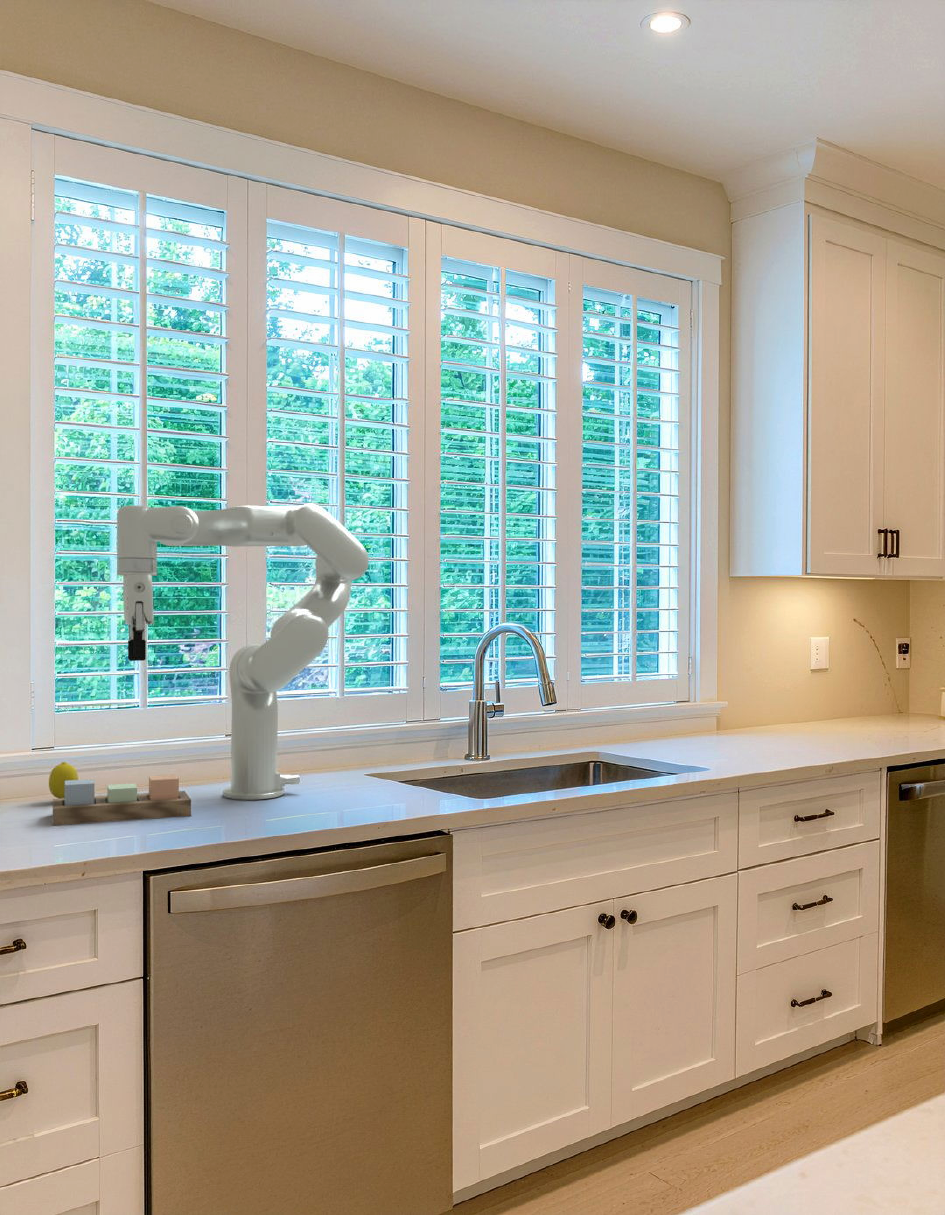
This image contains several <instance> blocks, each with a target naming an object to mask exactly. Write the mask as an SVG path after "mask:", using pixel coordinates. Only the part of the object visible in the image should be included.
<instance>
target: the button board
mask: <svg viewBox="0 0 945 1215" xmlns="http://www.w3.org/2000/svg"><path fill="white" fill-rule="evenodd" d="M177 817H178V818H179V817H192V799H191V798H190V796H189V794H188V793H187V792H186V791H185V790H179V799H164V800H149V792H144V793H137V801H132V802H116V803H107V795H94V804H85V805H69V806H65V798H57V797H56V798H52V826H62V825H64V826H65V825H75V824H76V825H77V824H78V825H79V824H94V823H107V822H120V821H134V820H135V821H137V820H147V819H148V820H150V819H151V820H152V819H164V818H177Z"/></svg>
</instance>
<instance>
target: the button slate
mask: <svg viewBox="0 0 945 1215" xmlns="http://www.w3.org/2000/svg"><path fill="white" fill-rule="evenodd" d="M94 796H95V780H94V778H92V779H91V778H89V779H78V780H67V781H65V806H69V805H85V804H94Z"/></svg>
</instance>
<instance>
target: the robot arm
mask: <svg viewBox="0 0 945 1215" xmlns="http://www.w3.org/2000/svg"><path fill="white" fill-rule="evenodd" d="M158 542H159V543H160V544H162V545H165V546H169V547H210V546H211V547H213V546H214V547H215V546H217V547H218V546H219V547H220V546H221V547H222V546H223V547H233V548H234V547H235V548H237V547H303V546H304V547H305V546H308V547H309V548H310V550H312V552H314V553H315V555H316V557H315V563H314V565H315V581H314V585H313V586H312V587H311V589H310V590H309V591H308V592H307V593H306V594H305V595H304V596H303V597H302V598H301V599H300V600H299V601H298V602H297V603H296V604H294V605H293V606H292V607H291V608H289V610H288V611H286V612H285V613H284V614H283V615H281V616H280V617H278V618H277V620H276V621H275V622H274V623H273V625H272V627H271V630H270V637H269V639H267V640H266V641H265V642H264V643H263V644H248V645H245V646H243V647H241V648H239V649H238V650H237V651H236V652H235V653H234V655H233V656H232V658H231V660H230V665H229V670H228V672H229V673H228V674H229V675H228V676H229V686H230V687H229V688H230V696H231V698H230V700H231V725H230V726H231V729H230V730H231V732H230V734H231V736H230V737H231V739H230V740H231V743H230V750H231V751H230V786H229V787H226V788H223V790H222V795H223V797H225V798H228V799H232V800H246V801H247V800H248V801H249V800H250V801H251V800H252V801H253V800H265V799H267V800H268V799H274V798H278V797H281V796H283V795H285V788H284V787H285V785H300V783H301V782H300V781H301V780H300V778H301V777H300V775H299V774H293V775H292V774H281V773H280V772H279V771H278V727H279V726H278V722H279V717H278V716H279V708H278V707H279V705H278V704H279V703H278V694H277V692H278V691H279V690H281V689H282V688H284V687H285V686H287V684H289V683H290V682H291V681H292V680H293V679H294V678H296V677H297V676H298V675H299V674H300V673H301V672H303V670H305V669H306V668H307V666H309V665H310V664H311V663H313V661H314V660H315V659H317V657H318V656H320V654H321V653H322V652H323V650H324V649H325V648H326V646H327V643H328V641H329V628H330V627H331V626H332V625H333V624H334V622H336V621H337V620H338V619H339V617H340V616H341V615H343V613H344V612H345V610H346V608H347V607H348V604H349V602H350V597H351V593H352V592H351V591H352V581H355V580H357V579H360V578H361V577H362V576H363V575H364V574H365V573H366V572H367V570H368V568H369V564H370V560H369V554H368V552H367V549H366V548H365V546H364V545H363V544H362V543H361V542H360V540H358V539H357V538H356V537H355V536H354V535H353V534H351V533H350V531H348V529H347V528H345V527H344V526H343V525H342V524H341V523H340V522H339V521H338V520H337V519H336V518H335V517H333V515H331V514H330V513H329V512H328V511H326V510H325V509H324V508H322V506H320V505H316V504H313V503H307V504H303V505H299V506H264V505H263V506H260V505H240V506H239V505H238V506H232V507H227V508H223V509H222V508H221V509H215V510H214V509H213V510H192V509H191V508H188V507H186V506H180V505H179V506H178V505H174V506H164V507H163V506H161V507H151V506H145V505H124V506H121V507H120V508H119V509H118V510H117V512H116V576H123V577H122V580H123V581H122V584H123V585H122V589H123V590H122V591H123V592H122V594H123V597H122V599H123V601H122V602H123V604H122V605H123V617H124V618H123V619H124V624H126V625H128V639H127V660H128V661H130V662H135V661H137V662H138V661H139V662H141V661H146V659H147V658H146V656H147V654H146V653H147V651H146V650H147V644H146V643H147V640H146V625H148V626H151V625H153V624H154V622H155V621H154V620H155V619H154V617H155V616H154V593H153V592H154V591H153V590H154V589H153V588H154V587H153V577H157V575H158V570H157V569H158V566H157V564H158V560H157V558H158Z"/></svg>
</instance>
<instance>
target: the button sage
mask: <svg viewBox="0 0 945 1215" xmlns="http://www.w3.org/2000/svg"><path fill="white" fill-rule="evenodd" d="M137 786H138V785H137V784H136V783H119V784H107V789H106V790H107V793H106V794H107V795H106V796H107V803H116V802H132V801H137V794H138V787H137Z"/></svg>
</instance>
